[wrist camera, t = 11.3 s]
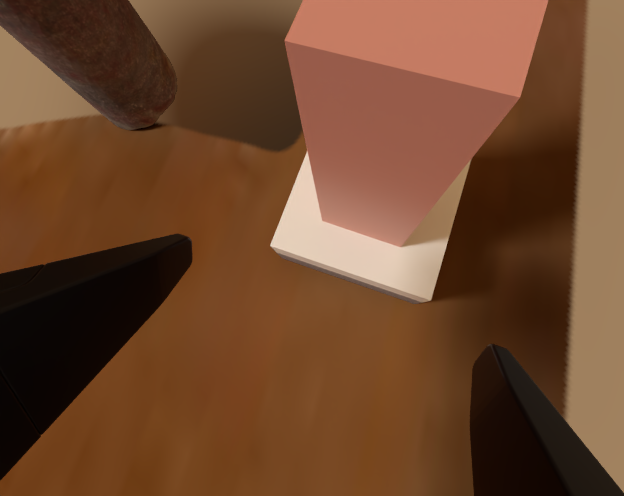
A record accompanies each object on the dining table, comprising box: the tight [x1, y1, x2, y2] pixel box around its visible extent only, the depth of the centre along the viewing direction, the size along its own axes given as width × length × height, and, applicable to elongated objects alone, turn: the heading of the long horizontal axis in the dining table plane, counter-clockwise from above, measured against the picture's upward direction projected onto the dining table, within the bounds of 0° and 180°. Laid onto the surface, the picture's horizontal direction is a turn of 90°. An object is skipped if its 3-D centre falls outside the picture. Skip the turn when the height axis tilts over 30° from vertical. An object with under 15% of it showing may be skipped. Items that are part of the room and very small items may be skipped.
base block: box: [270, 151, 471, 304], centre depth 22 cm, size 10×10×4 cm
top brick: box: [285, 0, 548, 247], centre depth 13 cm, size 5×5×13 cm
